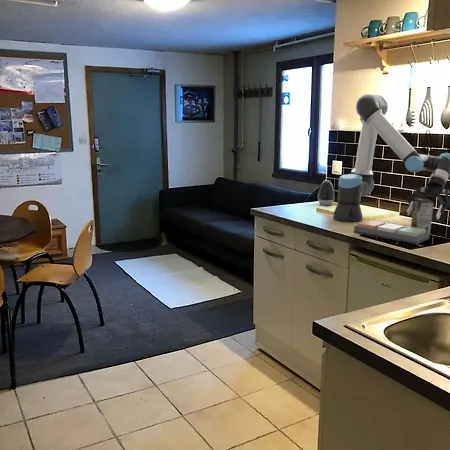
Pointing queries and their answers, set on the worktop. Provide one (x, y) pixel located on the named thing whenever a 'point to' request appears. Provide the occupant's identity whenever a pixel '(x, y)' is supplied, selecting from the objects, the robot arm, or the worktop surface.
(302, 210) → the worktop surface
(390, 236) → the keypad
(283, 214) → the worktop surface
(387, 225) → the key grey
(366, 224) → the key terracotta
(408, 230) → the key sage
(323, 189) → the dark grey egg shape
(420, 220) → the coffee box
